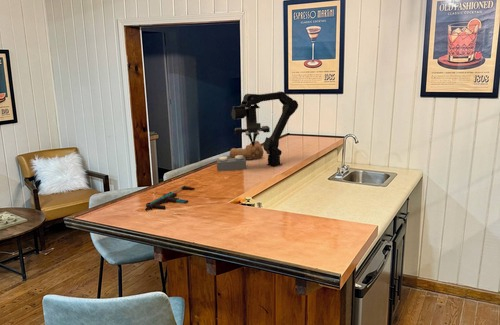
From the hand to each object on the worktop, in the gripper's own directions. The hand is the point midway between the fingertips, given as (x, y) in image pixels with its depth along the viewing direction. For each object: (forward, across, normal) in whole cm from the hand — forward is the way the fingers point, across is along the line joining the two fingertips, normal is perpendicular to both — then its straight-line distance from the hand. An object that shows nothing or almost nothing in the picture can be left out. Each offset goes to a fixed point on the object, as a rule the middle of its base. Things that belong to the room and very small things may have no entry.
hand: (253, 145), depth 225 cm
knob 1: (+12, -17, +4) cm, 22 cm away
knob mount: (+13, -12, +4) cm, 19 cm away
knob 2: (+13, -8, +4) cm, 15 cm away
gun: (+14, -38, -44) cm, 60 cm away
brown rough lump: (+13, -2, +26) cm, 29 cm away
